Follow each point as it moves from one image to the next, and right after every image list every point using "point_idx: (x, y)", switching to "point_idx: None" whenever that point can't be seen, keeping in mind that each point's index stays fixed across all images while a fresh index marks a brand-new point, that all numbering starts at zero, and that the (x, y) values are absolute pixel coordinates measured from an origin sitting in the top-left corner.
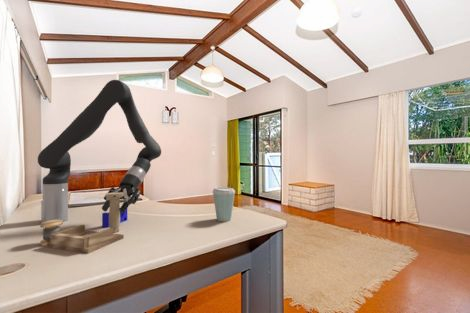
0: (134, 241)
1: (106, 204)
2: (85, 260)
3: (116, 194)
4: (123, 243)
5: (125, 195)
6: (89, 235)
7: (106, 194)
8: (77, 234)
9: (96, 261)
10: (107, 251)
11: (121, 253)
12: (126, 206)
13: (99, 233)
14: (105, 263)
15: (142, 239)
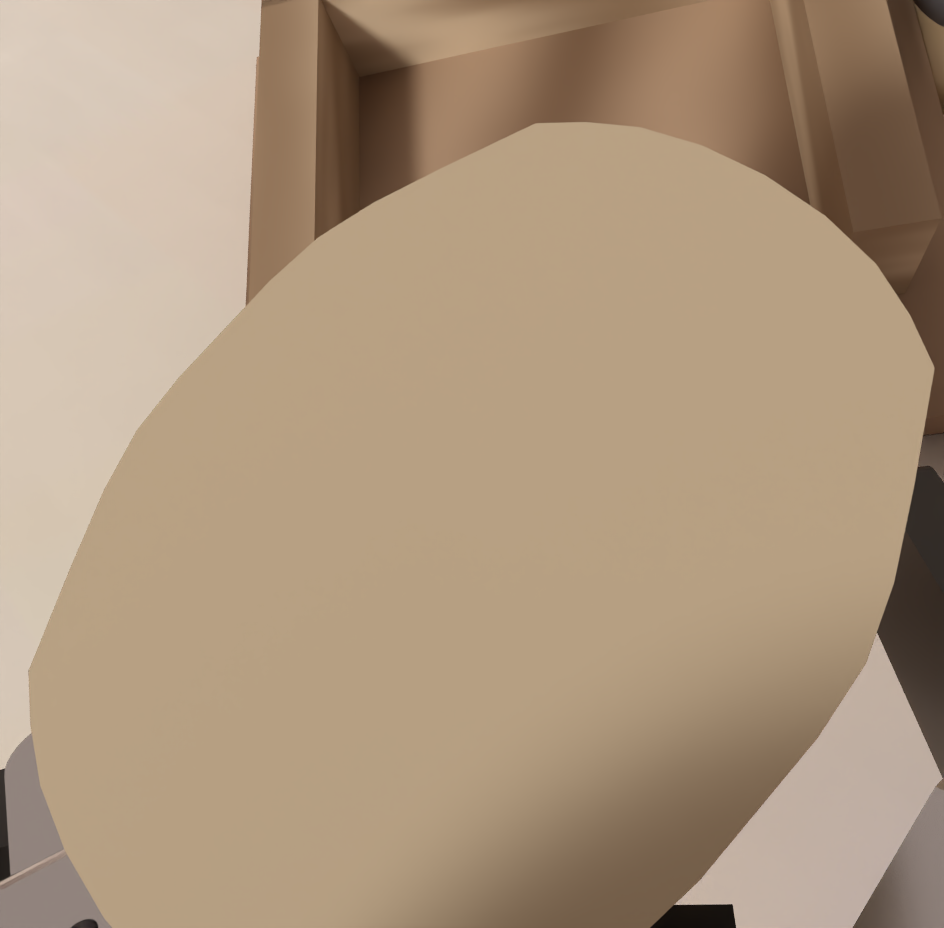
0: (66, 482)
1: (916, 577)
2: (184, 14)
3: (172, 398)
4: (142, 387)
5: (71, 873)
6: (307, 36)
7: (553, 125)
8: (812, 184)
9: (92, 47)
10: (149, 188)
11: (5, 219)
12: None
13: (256, 128)
14: (7, 63)
15: (16, 571)
